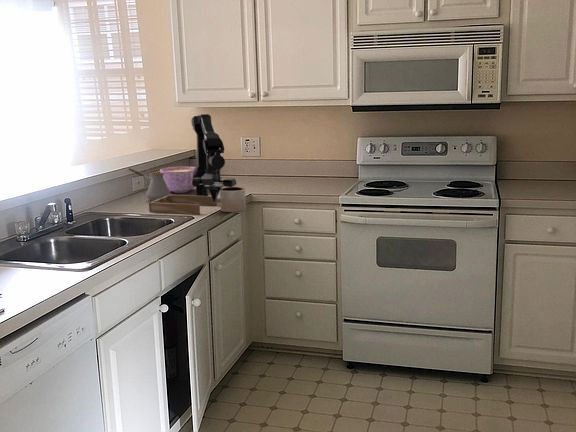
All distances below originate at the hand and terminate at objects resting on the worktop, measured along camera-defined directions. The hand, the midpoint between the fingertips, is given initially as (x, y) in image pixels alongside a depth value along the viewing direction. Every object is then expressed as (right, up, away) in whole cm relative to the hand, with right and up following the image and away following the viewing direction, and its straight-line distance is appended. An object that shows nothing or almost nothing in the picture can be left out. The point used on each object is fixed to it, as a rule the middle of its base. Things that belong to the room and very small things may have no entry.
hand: (214, 201), depth 277 cm
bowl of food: (-23, +6, +48) cm, 54 cm away
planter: (+8, -4, -2) cm, 9 cm away
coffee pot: (-34, +1, +27) cm, 44 cm away
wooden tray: (-14, -3, +5) cm, 15 cm away
